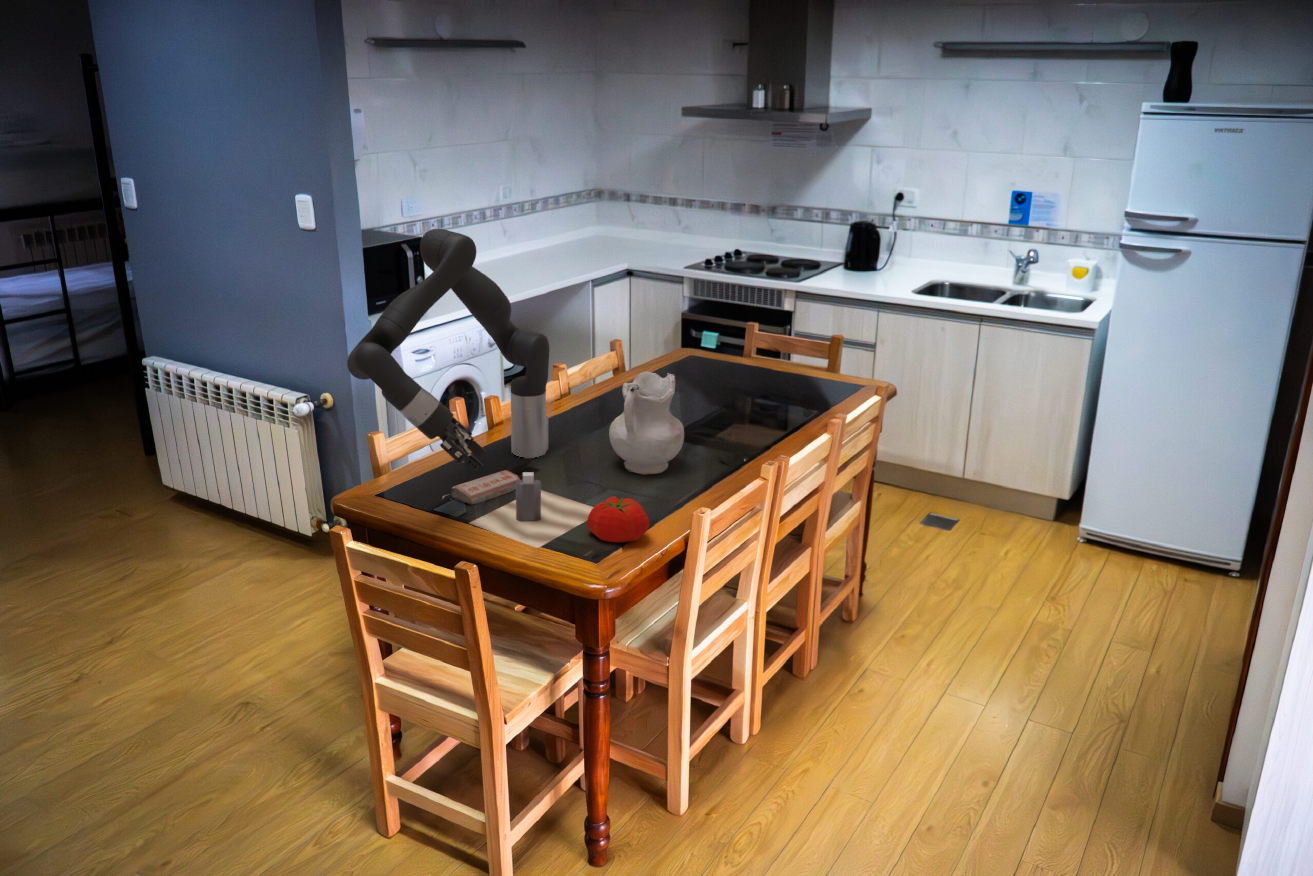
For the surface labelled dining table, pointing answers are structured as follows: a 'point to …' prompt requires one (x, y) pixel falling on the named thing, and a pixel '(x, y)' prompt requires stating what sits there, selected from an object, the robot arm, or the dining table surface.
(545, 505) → the cloth
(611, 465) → the dining table surface
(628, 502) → the tomato
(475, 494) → the packaged product
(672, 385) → the ceramic pitcher
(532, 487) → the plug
